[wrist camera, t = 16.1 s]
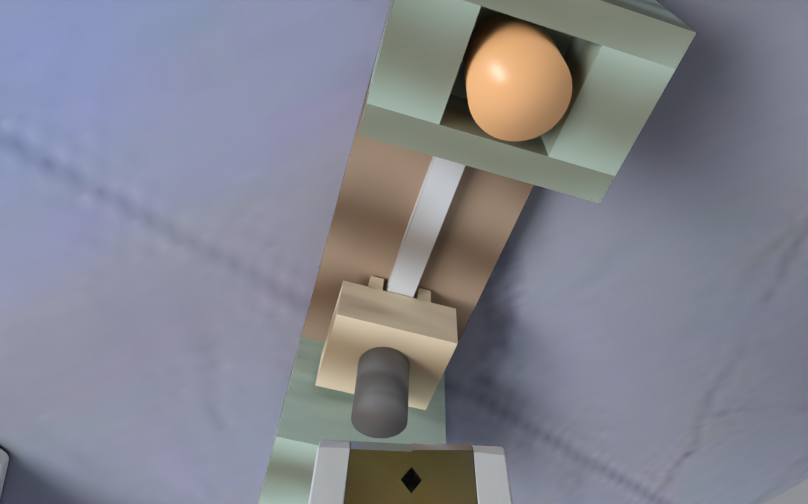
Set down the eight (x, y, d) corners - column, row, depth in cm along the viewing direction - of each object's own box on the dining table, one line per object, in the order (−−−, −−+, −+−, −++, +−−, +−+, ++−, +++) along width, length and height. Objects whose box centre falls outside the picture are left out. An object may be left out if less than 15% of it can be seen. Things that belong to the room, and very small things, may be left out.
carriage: (426, 362, 41) (425, 466, 34) (324, 338, 40) (303, 440, 33) (455, 297, 37) (460, 398, 31) (345, 269, 36) (326, 368, 30)
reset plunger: (531, 110, 26) (545, 153, 22) (450, 86, 25) (453, 125, 22) (568, 26, 24) (590, 59, 20) (481, -2, 23) (489, 27, 20)
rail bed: (415, 411, 47) (411, 534, 39) (288, 382, 46) (258, 504, 38) (620, -28, 28) (696, 32, 20) (417, -98, 27) (411, -63, 19)
